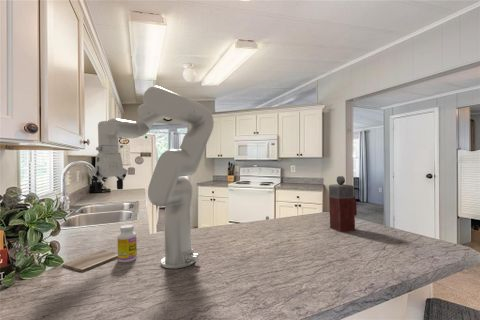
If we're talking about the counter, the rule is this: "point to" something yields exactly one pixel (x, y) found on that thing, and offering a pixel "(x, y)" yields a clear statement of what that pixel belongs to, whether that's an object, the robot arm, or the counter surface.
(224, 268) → the counter surface
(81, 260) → the board
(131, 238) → the supplement bottle
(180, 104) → the robot arm
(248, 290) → the counter surface
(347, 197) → the red canister
